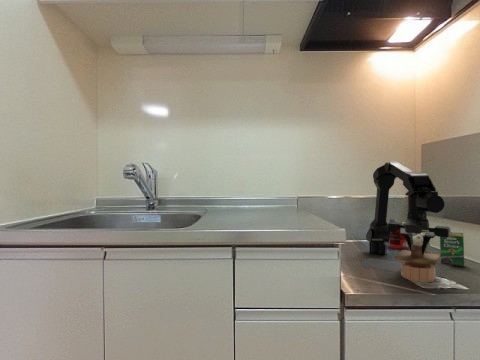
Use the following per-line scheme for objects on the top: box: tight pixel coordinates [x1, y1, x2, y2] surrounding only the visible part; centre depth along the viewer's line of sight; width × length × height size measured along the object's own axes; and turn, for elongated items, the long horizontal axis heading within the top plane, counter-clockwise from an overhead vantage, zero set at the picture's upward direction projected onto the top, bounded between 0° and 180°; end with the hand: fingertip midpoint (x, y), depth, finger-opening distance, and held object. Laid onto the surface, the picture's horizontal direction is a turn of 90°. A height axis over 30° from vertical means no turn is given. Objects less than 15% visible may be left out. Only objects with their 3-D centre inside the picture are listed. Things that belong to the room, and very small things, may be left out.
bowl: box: [400, 260, 436, 283], centre depth 105 cm, size 10×10×5 cm
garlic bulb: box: [408, 232, 431, 253], centre depth 136 cm, size 9×8×10 cm
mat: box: [359, 257, 401, 273], centre depth 120 cm, size 14×14×1 cm
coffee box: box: [439, 231, 465, 268], centre depth 121 cm, size 8×3×13 cm, turn 51°
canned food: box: [388, 230, 407, 251], centre depth 149 cm, size 8×8×11 cm
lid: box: [393, 243, 441, 266], centre depth 105 cm, size 12×12×5 cm
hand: (417, 253), depth 105 cm, fingers closed on lid, 3 cm apart
